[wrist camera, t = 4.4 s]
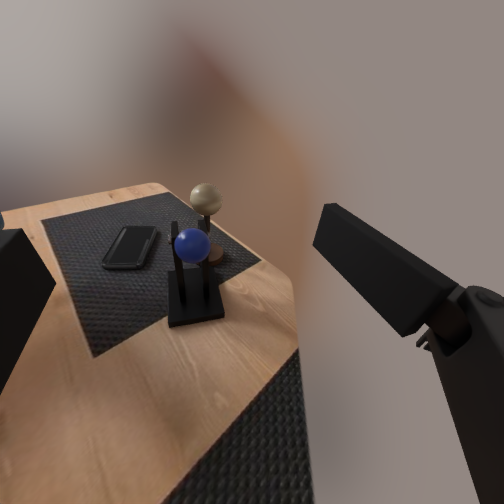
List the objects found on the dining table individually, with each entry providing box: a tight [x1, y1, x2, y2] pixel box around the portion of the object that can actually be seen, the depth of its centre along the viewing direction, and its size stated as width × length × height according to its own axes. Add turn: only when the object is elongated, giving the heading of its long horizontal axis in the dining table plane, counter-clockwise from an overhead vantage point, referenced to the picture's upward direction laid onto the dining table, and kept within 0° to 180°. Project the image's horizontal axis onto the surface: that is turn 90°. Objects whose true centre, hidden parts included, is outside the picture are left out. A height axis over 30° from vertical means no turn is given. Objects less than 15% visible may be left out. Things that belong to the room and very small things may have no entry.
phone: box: [101, 226, 157, 270], centre depth 49 cm, size 8×1×15 cm
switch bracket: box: [168, 220, 225, 328], centre depth 36 cm, size 12×9×15 cm
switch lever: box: [174, 228, 211, 263], centre depth 27 cm, size 14×4×4 cm, turn 19°
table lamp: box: [190, 183, 223, 266], centre depth 45 cm, size 7×7×17 cm
